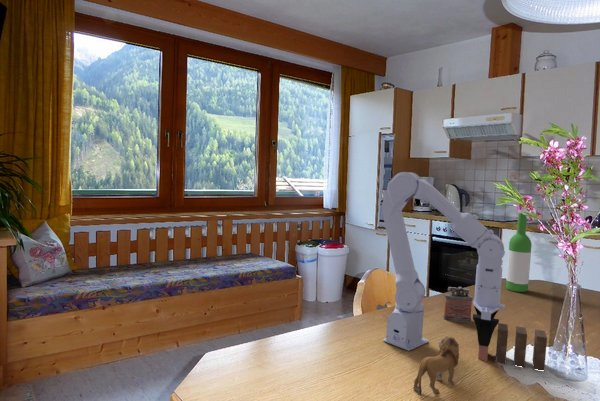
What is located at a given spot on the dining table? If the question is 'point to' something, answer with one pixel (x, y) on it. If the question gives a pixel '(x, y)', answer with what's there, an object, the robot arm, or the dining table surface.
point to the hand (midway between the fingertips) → (483, 339)
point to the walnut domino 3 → (539, 349)
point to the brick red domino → (483, 352)
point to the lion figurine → (439, 364)
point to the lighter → (458, 305)
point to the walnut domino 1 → (501, 343)
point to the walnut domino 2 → (520, 346)
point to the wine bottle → (519, 258)
